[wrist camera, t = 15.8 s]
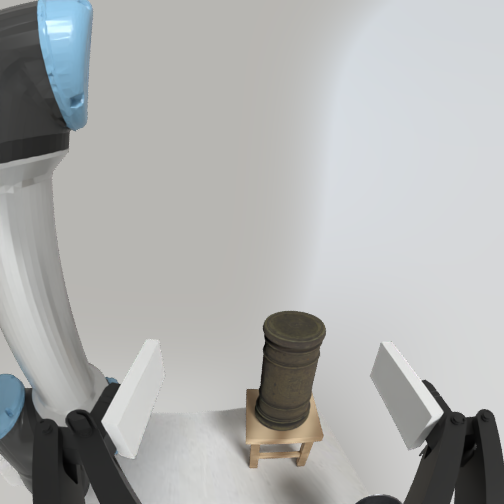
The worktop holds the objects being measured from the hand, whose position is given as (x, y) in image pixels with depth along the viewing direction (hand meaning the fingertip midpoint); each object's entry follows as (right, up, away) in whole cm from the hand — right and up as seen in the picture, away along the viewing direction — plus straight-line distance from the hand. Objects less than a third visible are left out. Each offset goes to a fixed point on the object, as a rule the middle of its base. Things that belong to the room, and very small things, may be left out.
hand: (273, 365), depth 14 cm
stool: (+3, -32, +28) cm, 43 cm away
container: (+4, -21, +25) cm, 33 cm away
